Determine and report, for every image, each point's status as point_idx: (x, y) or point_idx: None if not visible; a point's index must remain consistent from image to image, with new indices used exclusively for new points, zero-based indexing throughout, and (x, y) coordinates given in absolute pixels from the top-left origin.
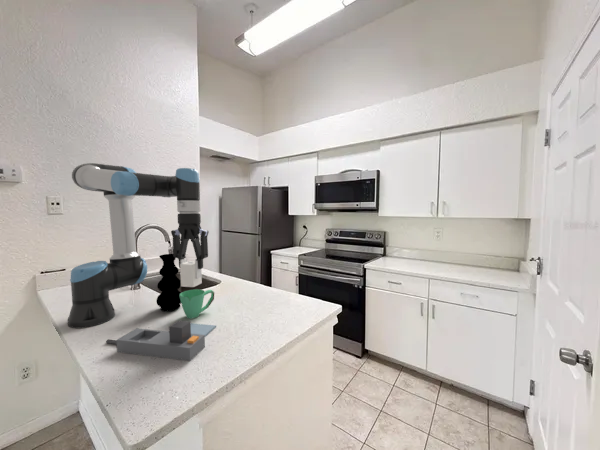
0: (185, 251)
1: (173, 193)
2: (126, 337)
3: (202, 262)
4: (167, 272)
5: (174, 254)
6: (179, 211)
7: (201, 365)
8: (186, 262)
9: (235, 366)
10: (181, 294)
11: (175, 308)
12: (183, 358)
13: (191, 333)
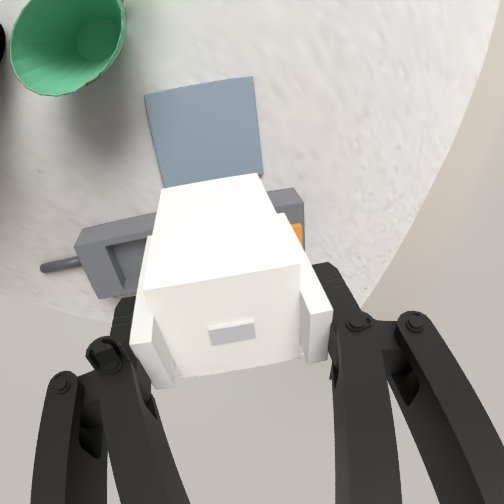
0: (147, 426)
1: None
2: (106, 285)
3: (351, 301)
4: None
5: (92, 433)
6: None
7: (328, 245)
8: (176, 334)
9: (392, 225)
10: (17, 64)
11: (2, 48)
12: None
13: (208, 152)
